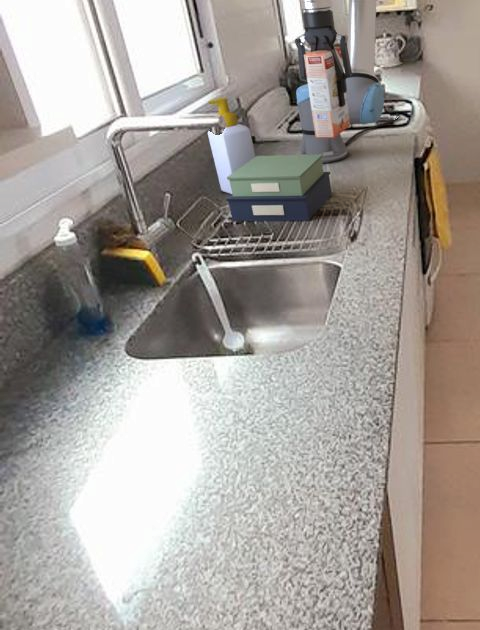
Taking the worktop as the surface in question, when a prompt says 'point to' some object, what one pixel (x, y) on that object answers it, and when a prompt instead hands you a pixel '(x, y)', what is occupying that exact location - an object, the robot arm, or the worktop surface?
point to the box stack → (279, 188)
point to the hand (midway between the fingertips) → (330, 106)
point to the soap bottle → (230, 145)
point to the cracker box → (325, 94)
